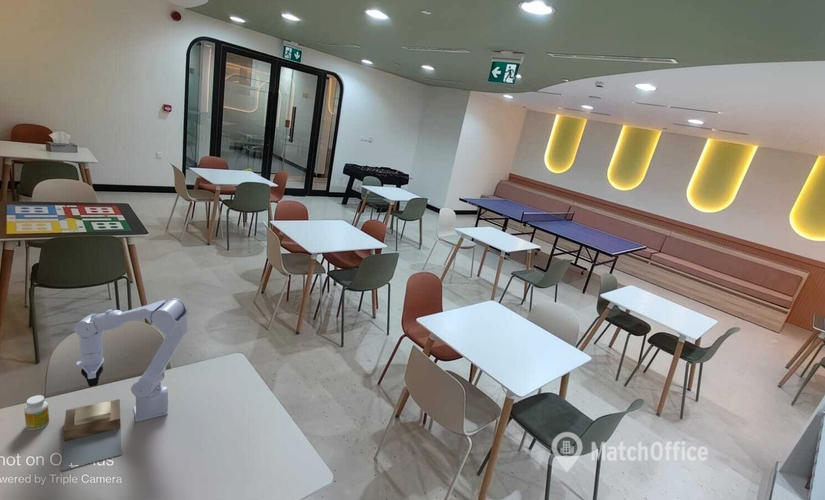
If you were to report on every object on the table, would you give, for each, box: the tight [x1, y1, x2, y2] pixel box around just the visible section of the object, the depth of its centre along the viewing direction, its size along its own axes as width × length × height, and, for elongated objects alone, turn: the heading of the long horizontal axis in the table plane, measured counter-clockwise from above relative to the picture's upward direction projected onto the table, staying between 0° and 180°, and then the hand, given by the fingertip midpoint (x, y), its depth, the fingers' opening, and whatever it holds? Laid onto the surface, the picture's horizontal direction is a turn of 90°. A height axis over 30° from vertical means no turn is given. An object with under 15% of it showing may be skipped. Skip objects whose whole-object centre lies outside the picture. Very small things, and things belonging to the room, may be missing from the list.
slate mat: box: [60, 428, 122, 473], centre depth 121 cm, size 14×12×1 cm
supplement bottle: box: [23, 394, 50, 431], centre depth 124 cm, size 5×5×10 cm
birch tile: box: [74, 400, 112, 425], centre depth 127 cm, size 9×6×2 cm, turn 126°
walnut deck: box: [63, 398, 122, 443], centre depth 129 cm, size 14×10×4 cm
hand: (93, 384), depth 133 cm, fingers closed
